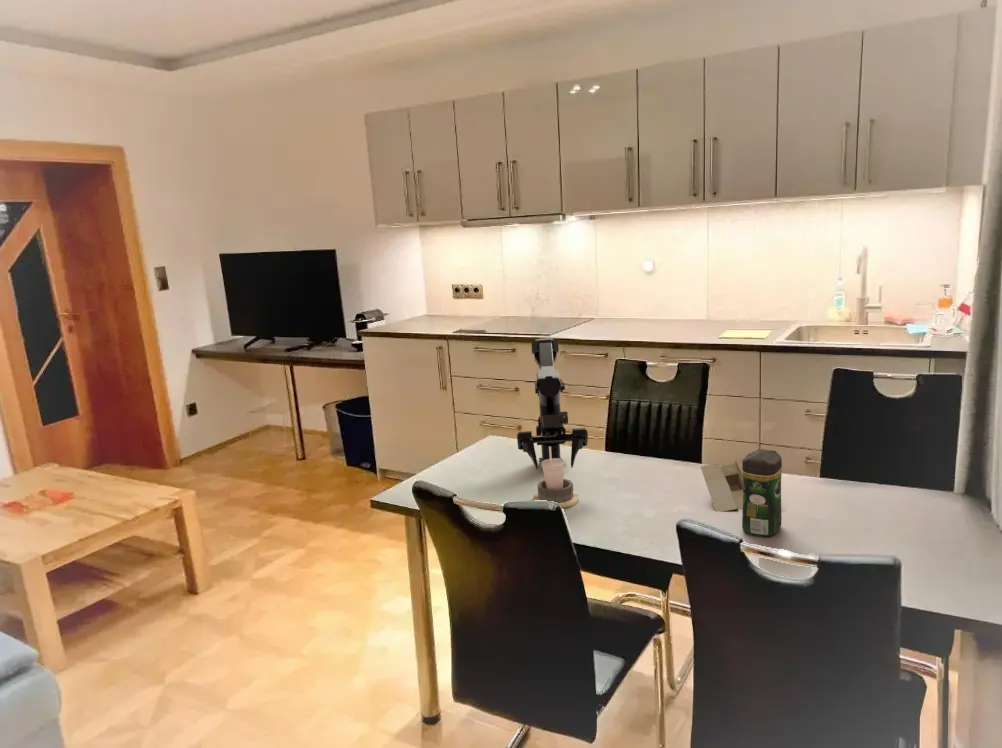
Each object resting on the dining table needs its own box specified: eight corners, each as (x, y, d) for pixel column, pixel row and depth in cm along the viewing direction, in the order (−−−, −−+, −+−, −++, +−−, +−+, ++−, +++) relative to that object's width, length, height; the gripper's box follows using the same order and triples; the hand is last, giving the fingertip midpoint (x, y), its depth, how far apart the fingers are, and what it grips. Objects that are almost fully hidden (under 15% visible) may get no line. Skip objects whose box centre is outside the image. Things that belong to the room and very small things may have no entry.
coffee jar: (750, 518, 171) (751, 444, 167) (785, 524, 166) (786, 449, 162) (737, 533, 163) (737, 456, 159) (772, 540, 158) (773, 461, 155)
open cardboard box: (778, 514, 181) (759, 463, 190) (783, 500, 174) (762, 447, 183) (714, 526, 182) (697, 475, 191) (716, 512, 175) (698, 460, 184)
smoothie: (546, 491, 193) (542, 442, 190) (569, 492, 191) (566, 442, 188) (541, 501, 187) (537, 450, 184) (565, 501, 185) (561, 450, 182)
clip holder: (529, 494, 194) (528, 479, 193) (571, 489, 196) (571, 473, 195) (538, 511, 183) (538, 495, 182) (584, 505, 184) (583, 489, 184)
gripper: (515, 403, 188) (517, 456, 180) (585, 399, 187) (591, 452, 179) (517, 423, 197) (519, 474, 189) (584, 419, 197) (589, 471, 188)
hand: (554, 467), depth 186 cm, fingers open, 9 cm apart
